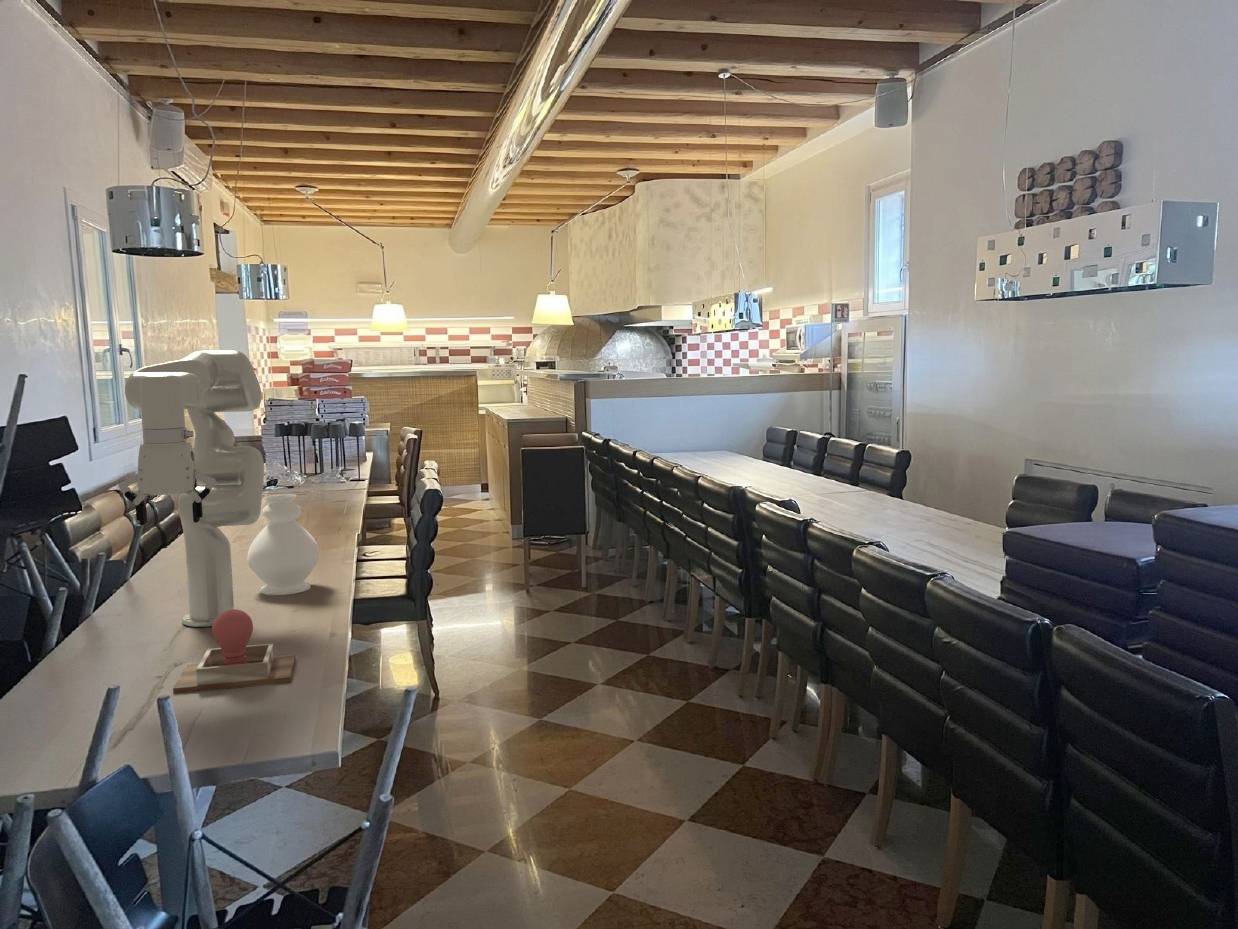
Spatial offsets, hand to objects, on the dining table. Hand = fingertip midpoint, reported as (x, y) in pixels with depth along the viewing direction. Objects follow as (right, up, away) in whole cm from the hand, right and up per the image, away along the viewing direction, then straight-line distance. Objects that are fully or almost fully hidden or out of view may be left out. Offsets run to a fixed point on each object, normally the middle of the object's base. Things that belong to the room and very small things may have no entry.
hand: (170, 522), depth 176 cm
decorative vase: (+1, -22, +58) cm, 62 cm away
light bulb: (+16, -28, -7) cm, 33 cm away
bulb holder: (+16, -29, -7) cm, 34 cm away
